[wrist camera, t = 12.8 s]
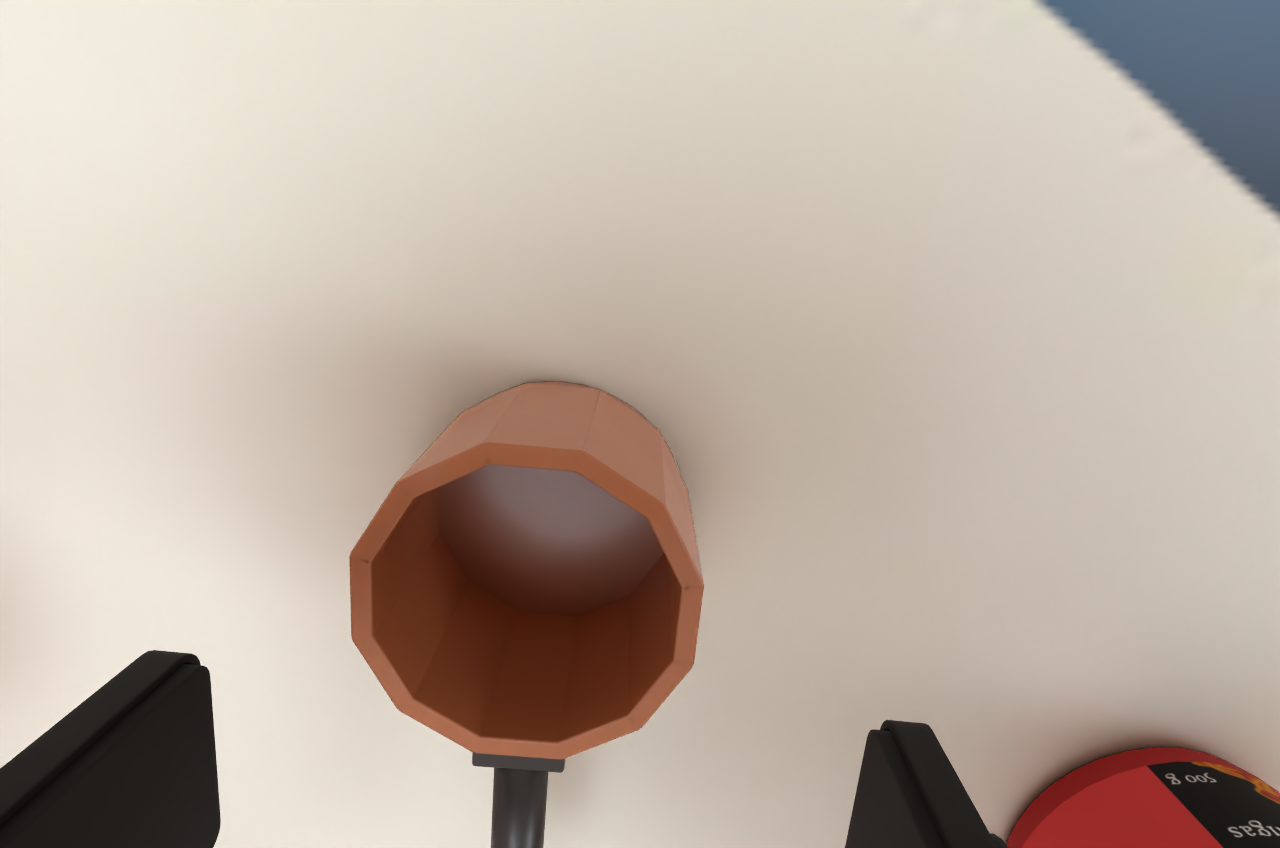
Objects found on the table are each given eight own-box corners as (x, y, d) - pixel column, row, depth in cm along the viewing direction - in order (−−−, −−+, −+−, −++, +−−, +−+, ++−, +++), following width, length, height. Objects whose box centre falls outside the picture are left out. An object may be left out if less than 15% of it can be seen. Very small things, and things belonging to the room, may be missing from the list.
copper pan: (430, 369, 17) (345, 429, 12) (697, 393, 17) (719, 463, 12) (426, 834, 20) (359, 1023, 16) (644, 851, 21) (645, 1043, 16)
